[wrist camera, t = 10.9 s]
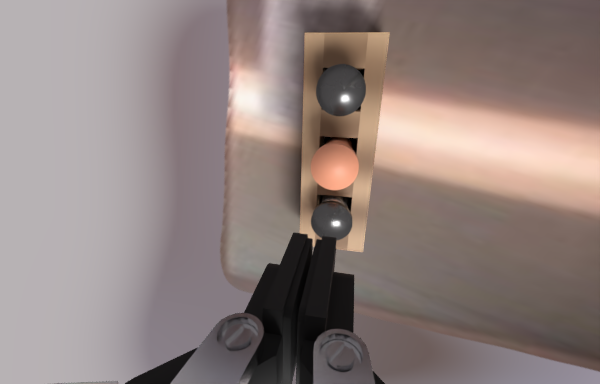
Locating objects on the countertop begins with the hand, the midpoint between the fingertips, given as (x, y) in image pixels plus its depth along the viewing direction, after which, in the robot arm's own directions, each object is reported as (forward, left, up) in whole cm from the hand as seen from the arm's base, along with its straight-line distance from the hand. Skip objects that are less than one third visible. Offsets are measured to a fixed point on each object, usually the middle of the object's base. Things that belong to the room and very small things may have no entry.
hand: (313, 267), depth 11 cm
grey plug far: (+6, 0, -22) cm, 23 cm away
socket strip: (0, 0, -23) cm, 23 cm away
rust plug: (0, 0, -21) cm, 21 cm away
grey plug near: (-6, 0, -22) cm, 23 cm away
